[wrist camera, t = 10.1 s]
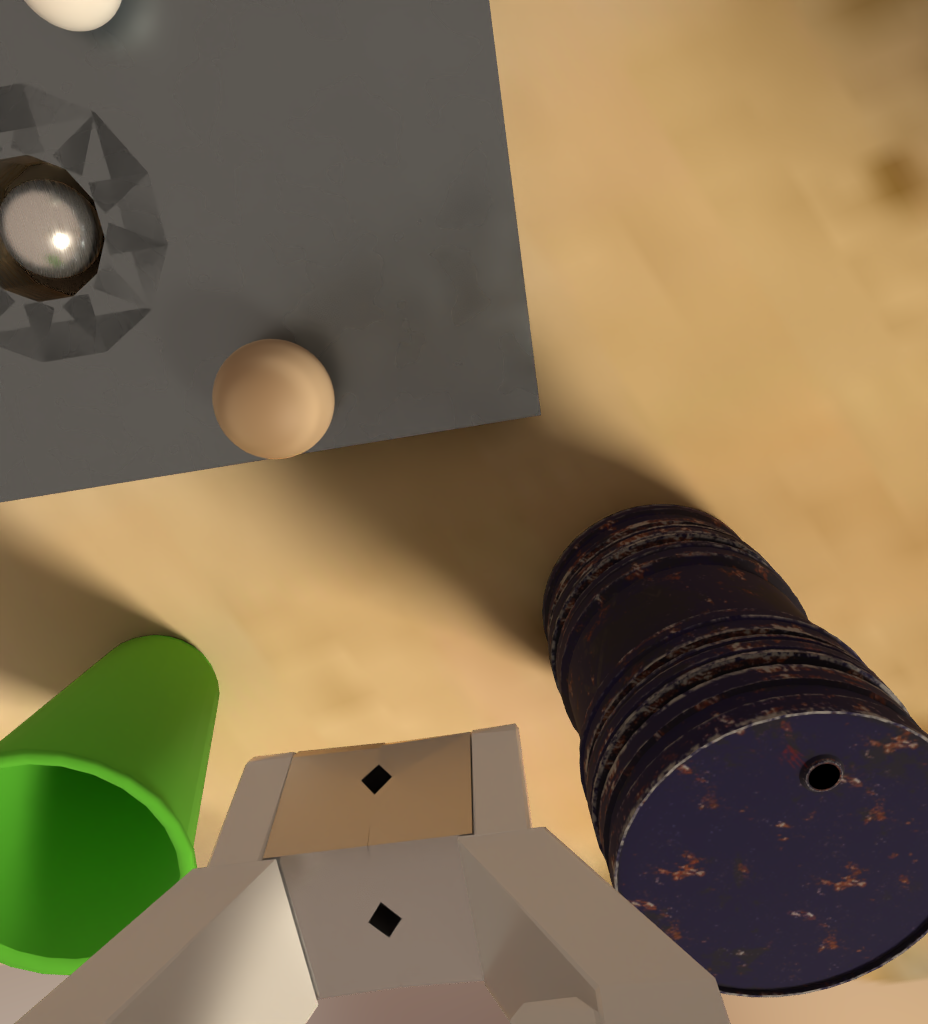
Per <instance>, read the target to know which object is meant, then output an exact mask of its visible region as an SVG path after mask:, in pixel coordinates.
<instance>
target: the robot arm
mask: <svg viewBox="0 0 928 1024" xmlns="http://www.w3.org/2000/svg"><path fill="white" fill-rule="evenodd" d="M477 981H484V982H485V986H486V987H487V989H488V990H489V992H490V993H491V995H492V996H493V998H494V999H495V1001H496V1002H497V1003H498V1005H499V1007H500V1008H501V1009H502V1011H503V1013H504V1014H505V1015H506V1017H507V1019H508V1020H509V1022H510V1024H731V1023H730V1021H729V1018H728V1015H727V1012H726V1009H725V1006H724V1003H723V1000H722V997H721V994H720V991H719V988H718V985H717V982H716V979H715V977H713V976H712V975H711V974H710V973H709V972H708V971H707V970H705V969H704V968H703V967H702V966H701V965H700V964H699V963H698V962H696V961H695V960H694V959H693V958H692V957H691V956H690V955H689V954H687V953H686V952H685V951H684V950H683V949H682V948H681V947H680V946H678V945H677V944H676V943H675V942H674V941H673V940H672V939H671V938H669V937H668V936H667V935H666V934H665V933H664V932H663V931H662V930H660V929H659V928H658V927H657V926H656V925H655V924H654V923H653V922H651V921H650V920H649V919H648V918H647V917H646V916H645V915H644V914H642V913H641V912H640V911H639V910H638V909H637V908H636V907H635V906H633V905H632V904H631V903H630V902H629V901H628V900H627V899H625V898H624V897H623V896H622V895H621V894H620V893H619V892H618V891H616V890H615V889H614V888H613V887H612V886H611V885H610V884H609V883H607V882H606V881H605V880H604V879H603V878H602V877H601V876H600V875H598V874H597V873H596V872H595V871H594V870H593V869H592V868H591V867H589V866H588V865H587V864H586V863H585V862H584V861H583V860H582V859H580V858H579V857H578V856H577V855H576V854H575V853H574V852H573V851H571V850H570V849H569V848H568V847H567V846H566V845H565V844H564V843H562V842H561V841H560V840H559V839H558V838H557V837H556V836H555V835H553V834H552V833H551V832H550V831H549V830H548V829H547V828H546V827H537V828H532V821H531V813H530V806H529V799H528V792H527V785H526V778H525V771H524V764H523V756H522V749H521V742H520V735H519V728H518V727H517V725H516V724H510V725H503V726H497V727H491V728H484V729H478V730H473V731H472V732H467V733H459V734H452V735H445V736H437V737H430V738H422V739H415V740H407V741H400V742H392V743H386V744H385V743H376V744H366V745H357V746H347V747H337V748H327V749H318V750H308V751H299V752H298V753H294V752H290V753H282V754H274V755H266V756H258V757H254V758H252V759H251V760H250V761H249V762H248V763H247V764H246V765H245V768H244V770H243V773H242V776H241V778H240V781H239V784H238V786H237V789H236V791H235V794H234V797H233V799H232V802H231V804H230V807H229V810H228V812H227V815H226V818H225V820H224V823H223V825H222V828H221V831H220V833H219V836H218V839H217V841H216V844H215V846H214V849H213V852H212V854H211V857H210V860H209V862H208V865H207V867H203V868H196V869H192V870H191V871H190V872H189V873H188V874H186V875H185V876H184V877H183V878H182V879H181V880H179V881H178V882H177V883H176V884H175V885H174V886H173V887H171V888H170V889H169V890H168V891H167V892H166V893H164V894H163V895H162V896H161V897H160V898H159V899H158V900H156V901H155V902H154V903H153V904H152V905H151V906H149V907H148V908H147V909H146V910H145V911H144V912H143V913H141V914H140V915H139V916H138V917H137V918H136V919H134V920H133V921H132V922H131V923H130V924H129V925H128V926H126V927H125V928H124V929H123V930H122V931H121V932H119V933H118V934H117V935H116V936H115V937H114V938H113V939H111V940H110V941H109V942H108V943H107V944H106V945H104V946H103V947H102V948H101V949H100V950H99V951H98V952H96V953H95V954H94V955H93V956H92V957H91V958H89V959H88V960H87V961H86V962H85V963H84V964H83V965H81V966H80V967H79V968H78V969H77V970H76V971H74V972H73V973H72V974H71V975H70V976H69V977H68V978H66V979H65V980H64V981H63V982H62V983H61V984H60V985H58V986H57V987H56V988H55V989H54V990H53V991H51V992H50V993H49V994H48V995H47V996H46V997H44V998H43V999H42V1000H41V1001H40V1002H39V1003H38V1004H37V1005H35V1006H34V1007H33V1008H32V1009H31V1010H29V1011H28V1012H27V1013H26V1014H25V1015H24V1016H23V1017H21V1018H20V1019H19V1020H18V1021H17V1022H16V1023H14V1024H306V1022H307V1021H308V1019H309V1018H310V1016H311V1015H312V1014H313V1012H314V1010H315V1009H316V1008H317V1006H318V1002H317V1000H319V999H325V998H333V997H339V996H347V995H352V994H360V993H367V992H374V991H381V990H388V989H395V988H404V987H416V986H428V985H440V984H453V983H465V982H477Z"/></svg>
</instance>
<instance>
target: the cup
mask: <svg viewBox="0 0 928 1024" xmlns="http://www.w3.org/2000/svg"><path fill="white" fill-rule="evenodd" d="M218 700H219V686H218V680H217V678H216V675H215V673H214V670H213V668H212V666H211V664H210V663H209V661H208V660H207V659H206V657H205V656H204V655H203V654H202V653H201V652H200V651H198V650H197V649H196V648H195V647H194V646H192V645H190V644H188V643H186V642H184V641H182V640H180V639H177V638H173V637H170V636H161V635H150V636H143V637H139V638H134V639H131V640H129V641H126V642H123V643H121V644H120V645H119V646H117V647H116V648H114V649H113V650H111V651H110V652H109V653H108V654H107V655H105V656H104V657H103V658H102V659H100V660H99V661H98V662H97V663H96V664H94V665H93V666H92V667H91V668H89V669H88V670H87V671H86V672H84V673H83V674H82V675H81V676H80V677H78V678H77V679H76V680H75V681H73V682H72V683H71V684H70V685H69V686H67V687H66V688H65V689H64V690H62V691H61V692H60V693H59V694H58V695H56V696H55V697H54V698H53V699H51V700H50V701H49V702H48V703H46V704H45V705H44V706H43V707H42V708H40V709H39V710H38V711H37V712H35V713H34V714H33V715H32V716H31V717H29V718H28V719H27V720H26V721H24V722H23V723H22V724H21V725H20V726H18V727H17V728H16V729H15V730H13V731H12V732H11V733H10V734H8V735H7V736H6V737H5V738H4V739H2V740H1V741H0V963H3V964H5V965H8V966H10V967H14V968H19V969H23V970H28V971H33V972H37V973H41V974H58V975H71V974H72V973H73V972H74V971H76V970H77V969H78V968H79V967H80V966H81V965H83V964H84V963H85V962H86V961H87V960H88V959H89V958H91V957H92V956H93V955H94V954H95V953H96V952H98V951H99V950H100V949H101V948H102V947H103V946H104V945H106V944H107V943H108V942H109V941H110V940H111V939H113V938H114V937H115V936H116V935H117V934H118V933H119V932H121V931H122V930H123V929H124V928H125V927H126V926H128V925H129V924H130V923H131V922H132V921H133V920H134V919H136V918H137V917H138V916H139V915H140V914H141V913H143V912H144V911H145V910H146V909H147V908H148V907H149V906H151V905H152V904H153V903H154V902H155V901H156V900H158V899H159V898H160V897H161V896H162V895H163V894H164V893H166V892H167V891H168V890H169V889H170V888H171V887H173V886H174V885H175V884H176V883H177V882H178V881H179V880H181V879H182V878H183V877H184V876H185V875H186V874H188V873H189V872H190V871H191V870H192V869H196V868H197V865H196V859H195V853H194V848H193V846H194V840H195V834H196V828H197V823H198V817H199V811H200V805H201V799H202V794H203V788H204V782H205V776H206V770H207V765H208V759H209V753H210V747H211V741H212V735H213V730H214V724H215V718H216V712H217V706H218Z"/></svg>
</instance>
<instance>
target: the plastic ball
mask: <svg viewBox="0 0 928 1024" xmlns="http://www.w3.org/2000/svg"><path fill="white" fill-rule="evenodd" d="M24 1H25V2H26V3H27V5H28V6H29V7H30V8H31V9H32V10H33V11H34V12H35V13H36V14H38V15H39V16H40V17H41V18H43V19H44V20H46V21H47V22H49V23H51V24H53V25H55V26H57V27H60V28H63V29H66V30H70V31H90V30H94V29H97V28H99V27H101V26H103V25H104V24H106V23H107V22H108V21H109V20H110V19H112V17H113V16H114V15H115V14H116V12H117V10H118V9H119V6H120V4H121V1H122V0H24Z"/></svg>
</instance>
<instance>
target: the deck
mask: <svg viewBox="0 0 928 1024" xmlns="http://www.w3.org/2000/svg"><path fill="white" fill-rule="evenodd" d="M47 162H48V163H51V164H53V165H56V166H58V167H61V168H63V169H66V170H67V172H68V173H69V174H70V175H71V176H72V177H73V178H74V179H75V180H76V181H77V183H78V184H79V185H80V186H81V187H82V188H83V189H84V190H85V191H86V192H87V193H88V195H89V196H90V197H91V198H92V199H93V200H94V203H95V206H96V210H97V213H98V217H99V220H100V223H101V227H102V230H103V233H104V237H105V241H104V245H103V250H102V254H101V259H100V263H99V268H98V272H97V274H96V275H95V276H94V277H93V278H92V279H91V280H90V281H89V282H88V283H87V284H86V285H85V286H83V287H82V288H81V289H80V290H79V291H78V292H77V293H76V294H75V295H67V294H64V293H62V292H59V291H56V290H54V289H51V288H48V287H45V286H43V285H40V284H37V283H36V282H35V281H34V280H33V279H32V278H31V277H30V276H29V275H28V274H27V272H26V271H25V270H24V269H23V268H22V267H21V266H20V265H19V264H18V263H17V262H16V261H15V260H14V259H13V258H12V257H11V255H10V254H9V252H8V251H7V249H6V248H5V246H4V244H3V242H2V240H1V237H0V502H5V501H12V500H18V499H24V498H30V497H36V496H43V495H49V494H55V493H61V492H67V491H74V490H80V489H86V488H92V487H98V486H105V485H111V484H117V483H123V482H129V481H136V480H142V479H148V478H154V477H160V476H166V475H173V474H179V473H185V472H191V471H197V470H204V469H210V468H216V467H222V466H228V465H235V464H241V463H247V462H253V461H259V460H266V459H267V458H261V457H258V456H254V455H252V454H249V453H247V452H245V451H244V450H242V449H240V448H239V447H238V446H236V445H235V444H234V443H233V442H232V441H231V440H230V439H229V438H228V437H227V436H226V435H225V434H224V432H223V430H222V429H221V427H220V425H219V423H218V421H217V419H216V416H215V413H214V409H213V402H212V393H213V386H214V381H215V378H216V375H217V373H218V371H219V369H220V367H221V366H222V364H223V363H224V362H225V360H226V359H227V358H228V357H229V356H230V355H231V354H232V353H233V352H235V351H236V350H237V349H239V348H240V347H242V346H244V345H246V344H249V343H251V342H254V341H258V340H263V339H280V340H286V341H289V342H292V343H295V344H297V345H299V346H301V347H303V348H305V349H306V350H308V351H309V352H311V353H312V354H313V355H314V356H315V357H316V358H317V359H318V360H319V361H320V362H321V363H322V365H323V366H324V367H325V369H326V371H327V373H328V374H329V377H330V379H331V382H332V385H333V389H334V395H335V406H334V413H333V417H332V420H331V423H330V425H329V427H328V429H327V431H326V432H325V434H324V435H323V436H322V438H321V439H320V440H319V441H318V442H317V443H316V444H315V445H314V446H313V447H311V448H310V449H309V450H307V451H305V452H303V453H309V452H315V451H321V450H328V449H334V448H340V447H346V446H352V445H359V444H365V443H371V442H377V441H383V440H390V439H396V438H402V437H408V436H414V435H421V434H427V433H433V432H439V431H445V430H452V429H458V428H464V427H470V426H476V425H483V424H489V423H495V422H501V421H507V420H514V419H520V418H526V417H532V416H538V415H541V412H540V404H539V396H538V388H537V380H536V372H535V364H534V356H533V348H532V340H531V332H530V324H529V316H528V308H527V300H526V292H525V284H524V276H523V268H522V260H521V252H520V244H519V236H518V228H517V220H516V212H515V204H514V196H513V188H512V180H511V172H510V164H509V156H508V148H507V140H506V132H505V124H504V116H503V108H502V100H501V92H500V84H499V76H498V68H497V60H496V52H495V44H494V36H493V28H492V20H491V12H490V4H489V0H122V1H121V4H120V6H119V9H118V10H117V12H116V14H115V15H114V16H113V17H112V19H110V20H109V21H108V22H107V23H106V24H104V25H103V26H101V27H99V28H97V29H94V30H90V31H70V30H66V29H63V28H60V27H57V26H55V25H53V24H51V23H49V22H47V21H46V20H44V19H43V18H41V17H40V16H39V15H38V14H36V13H35V12H34V11H33V10H32V9H31V8H30V7H29V6H28V5H27V3H26V2H25V1H24V0H0V206H1V204H2V202H3V200H4V196H5V190H6V188H7V187H8V186H9V185H10V184H11V183H12V182H13V181H14V180H15V179H16V178H17V177H18V176H19V175H20V174H21V173H22V172H23V171H24V170H25V169H26V168H27V167H28V166H29V165H35V164H41V163H47ZM303 453H301V454H303Z"/></svg>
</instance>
